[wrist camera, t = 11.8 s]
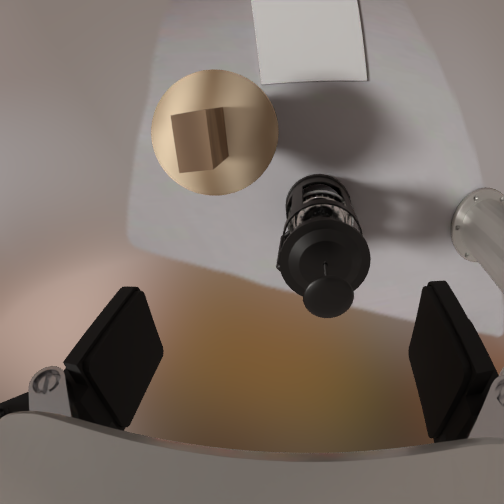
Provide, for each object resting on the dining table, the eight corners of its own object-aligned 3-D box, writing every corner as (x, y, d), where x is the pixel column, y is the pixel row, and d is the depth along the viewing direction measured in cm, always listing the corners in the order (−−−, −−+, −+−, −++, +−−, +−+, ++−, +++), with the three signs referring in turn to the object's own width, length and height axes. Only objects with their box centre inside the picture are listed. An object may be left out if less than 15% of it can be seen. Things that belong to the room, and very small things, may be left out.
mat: (354, -12, 30) (354, -13, 30) (366, 80, 36) (367, 80, 36) (250, -7, 33) (250, -8, 32) (261, 84, 39) (261, 84, 38)
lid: (271, 63, 27) (263, 53, 21) (283, 188, 33) (278, 212, 27) (148, 83, 30) (113, 83, 23) (166, 196, 35) (138, 220, 29)
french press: (324, 157, 42) (346, 217, 22) (366, 206, 44) (412, 299, 24) (263, 210, 47) (232, 305, 27) (306, 253, 49) (305, 366, 29)
